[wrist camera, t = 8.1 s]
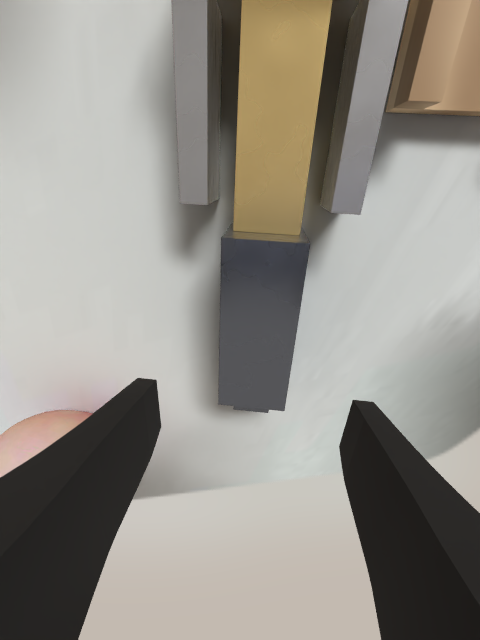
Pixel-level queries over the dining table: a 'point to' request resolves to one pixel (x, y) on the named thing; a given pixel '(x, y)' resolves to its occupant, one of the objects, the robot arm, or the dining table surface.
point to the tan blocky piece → (277, 110)
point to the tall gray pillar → (259, 316)
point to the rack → (438, 60)
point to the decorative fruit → (35, 436)
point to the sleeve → (350, 113)
